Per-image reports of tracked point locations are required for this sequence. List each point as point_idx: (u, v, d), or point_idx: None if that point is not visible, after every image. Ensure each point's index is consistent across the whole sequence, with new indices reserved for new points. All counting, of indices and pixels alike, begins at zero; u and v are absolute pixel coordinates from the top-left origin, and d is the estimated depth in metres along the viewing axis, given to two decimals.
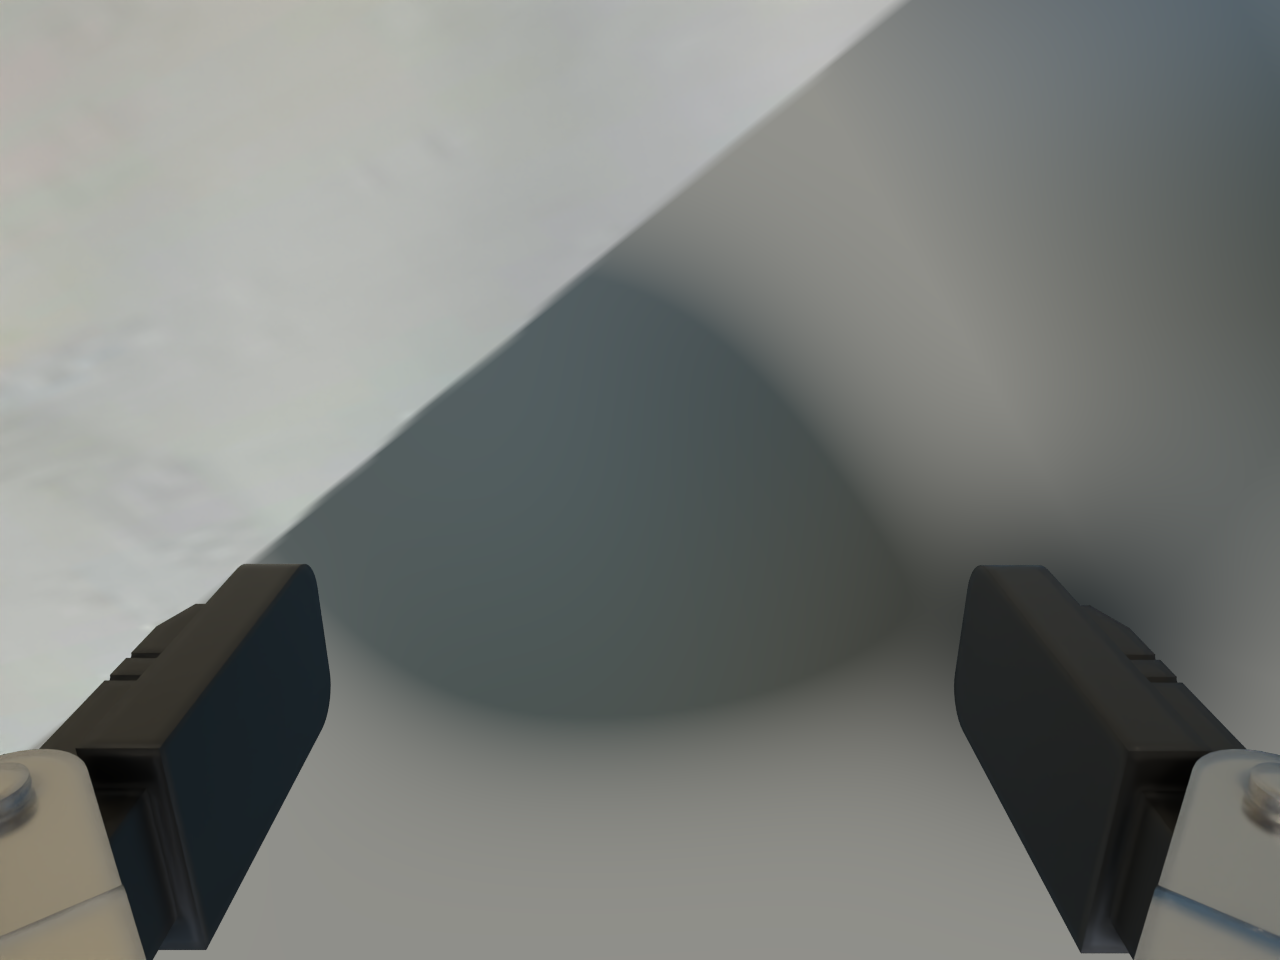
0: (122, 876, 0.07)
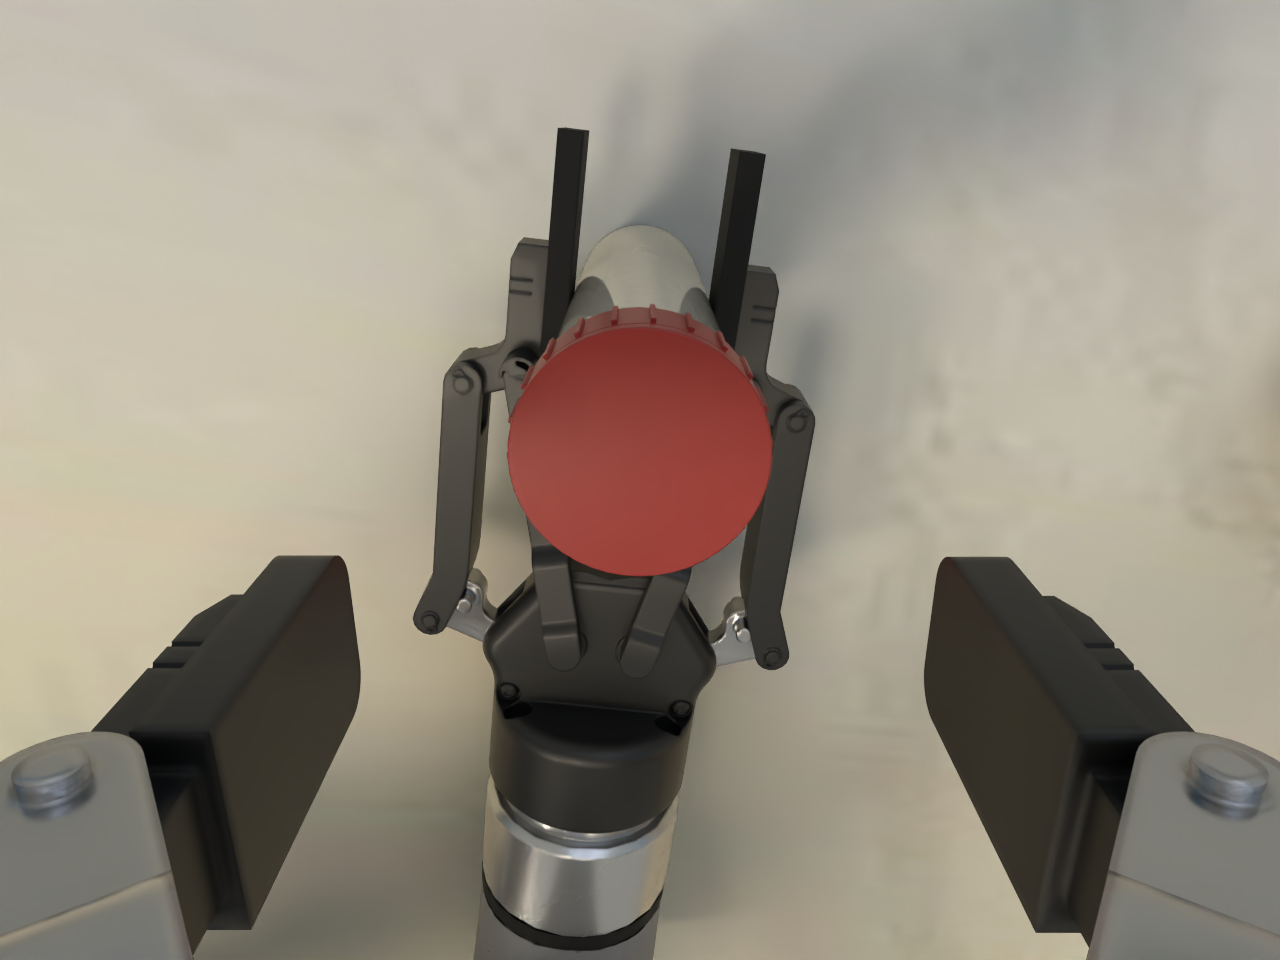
0: (175, 855, 0.07)
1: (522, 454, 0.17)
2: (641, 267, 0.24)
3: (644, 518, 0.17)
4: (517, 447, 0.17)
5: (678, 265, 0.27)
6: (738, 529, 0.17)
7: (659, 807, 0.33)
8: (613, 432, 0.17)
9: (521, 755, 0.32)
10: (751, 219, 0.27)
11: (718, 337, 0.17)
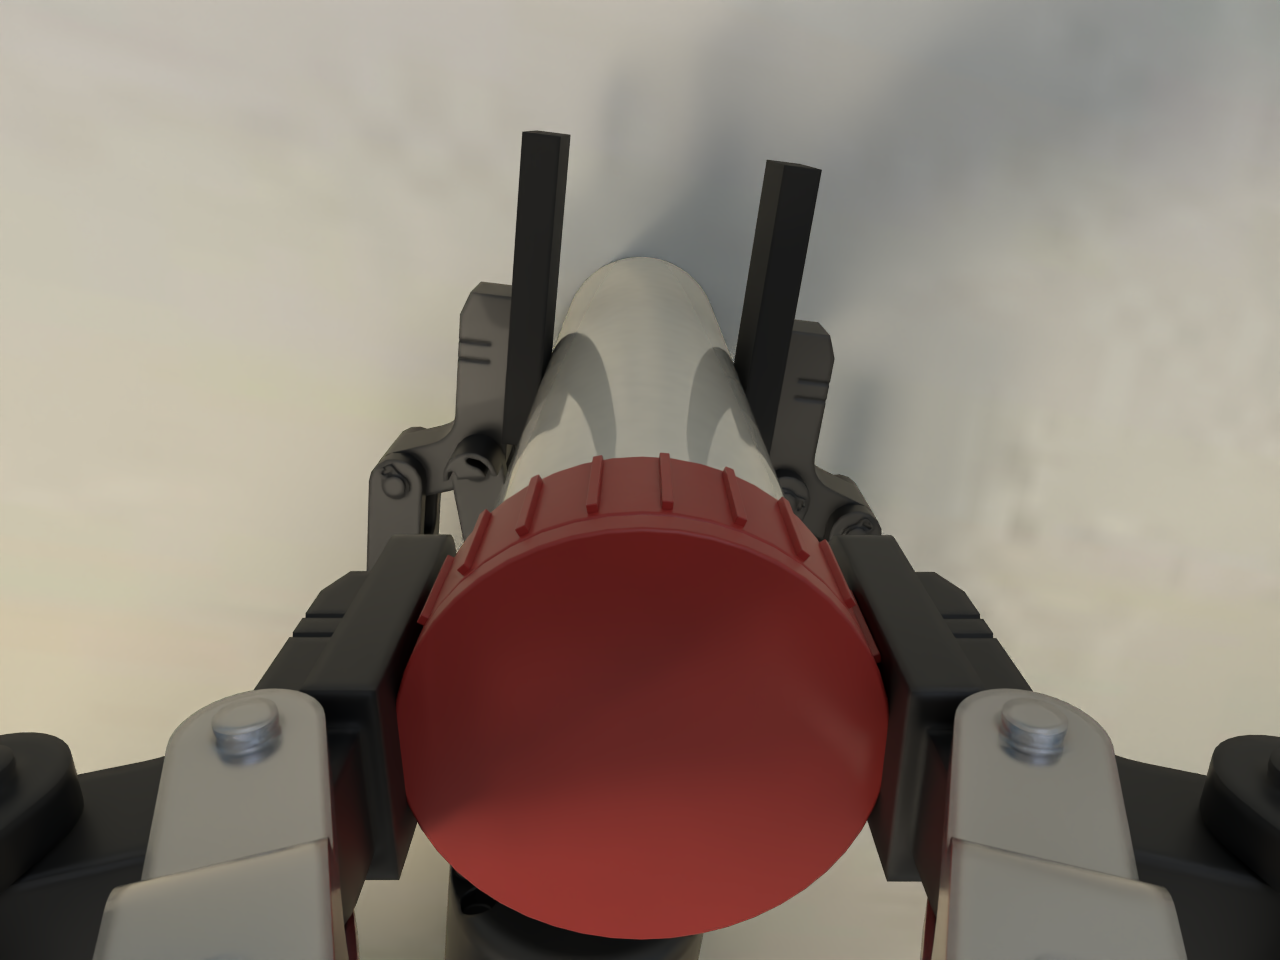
0: (347, 804, 0.08)
1: (420, 748, 0.09)
2: (643, 339, 0.16)
3: (650, 851, 0.10)
4: (411, 736, 0.09)
5: (695, 327, 0.19)
6: (821, 868, 0.10)
7: None
8: (591, 712, 0.09)
9: None
10: (798, 262, 0.19)
11: (785, 517, 0.10)
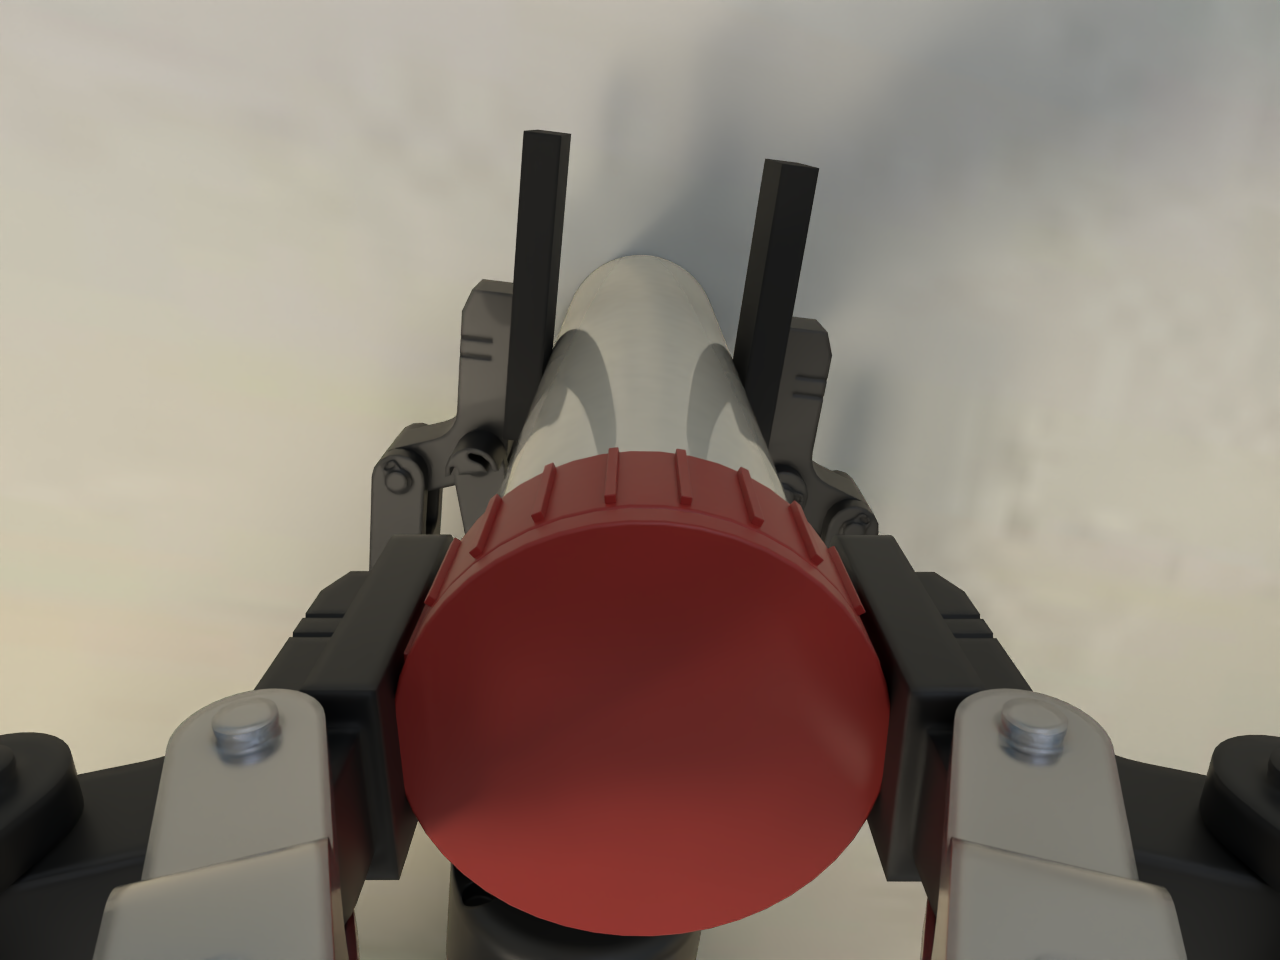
0: (347, 804, 0.08)
1: (590, 914, 0.10)
2: (642, 333, 0.17)
3: (763, 764, 0.09)
4: (577, 916, 0.10)
5: (694, 322, 0.19)
6: (837, 613, 0.08)
7: None
8: (581, 781, 0.09)
9: (483, 957, 0.24)
10: (796, 260, 0.19)
11: None
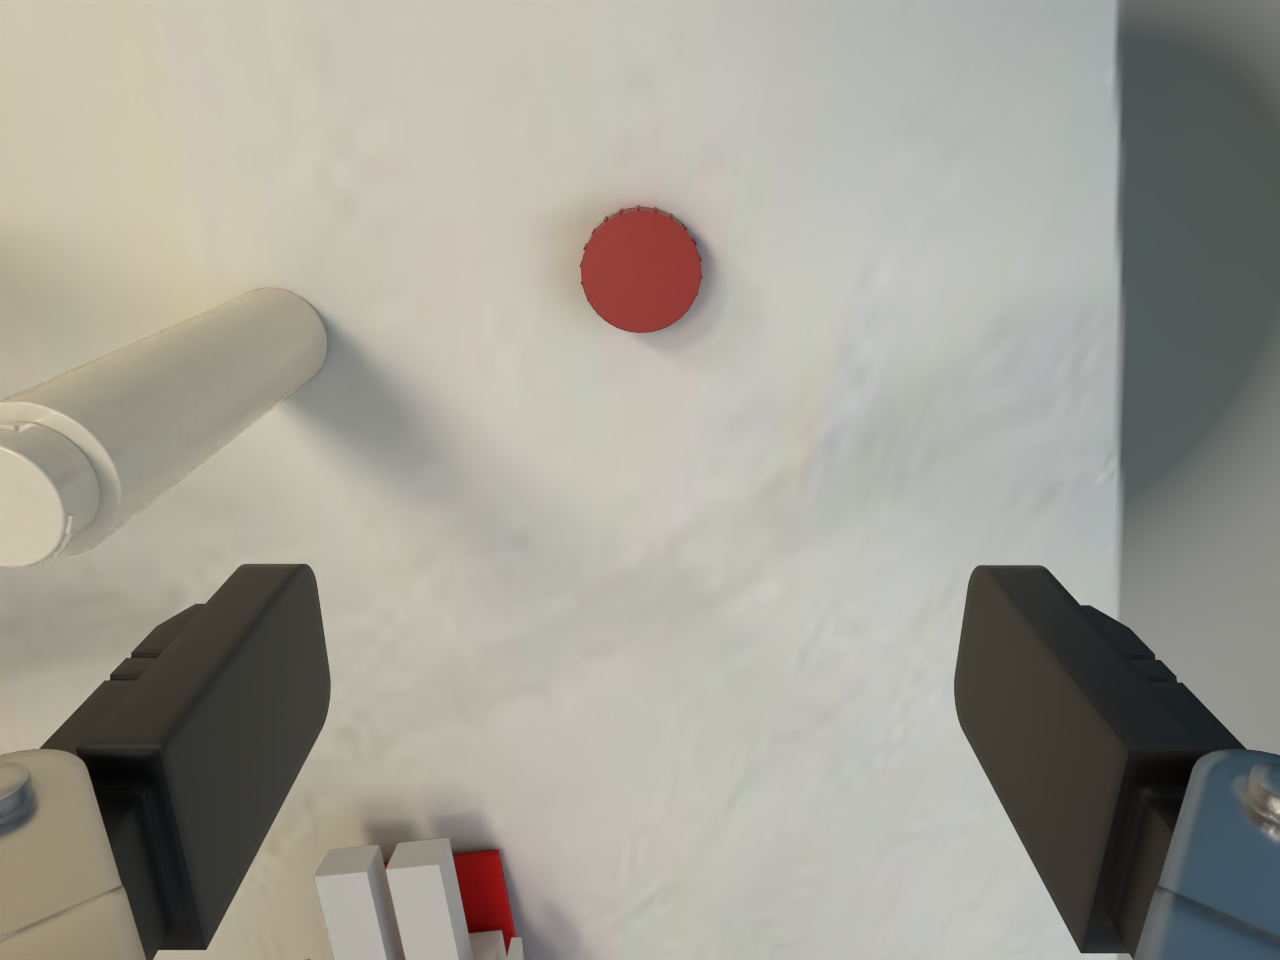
0: (122, 876, 0.07)
1: (688, 297, 0.38)
2: (221, 396, 0.30)
3: (651, 244, 0.37)
4: (688, 301, 0.38)
5: (253, 407, 0.33)
6: (613, 220, 0.37)
7: None
8: (646, 290, 0.38)
9: None
10: None
11: None
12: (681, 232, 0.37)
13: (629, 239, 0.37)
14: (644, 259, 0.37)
